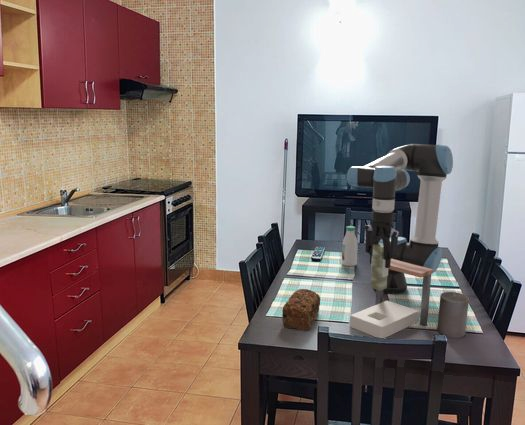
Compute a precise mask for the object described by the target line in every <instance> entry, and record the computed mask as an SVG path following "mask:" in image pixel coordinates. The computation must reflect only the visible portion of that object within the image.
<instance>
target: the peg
mask: <svg viewBox="0 0 525 425" xmlns="http://www.w3.org/2000/svg"><path fill="white" fill-rule="evenodd" d="M384 258H385V255H384V246H383V244H382V243H379V244H375V245H373V254H372V273H371V272H370V274H371V277H370V289H372V290H375V289H376V290H379V291H380V290H383V289H386V288H387V276H385V277H382V264H383V259H384ZM376 290H375V291H376Z"/></svg>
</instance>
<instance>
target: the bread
mask: <svg viewBox="0 0 525 425" xmlns="http://www.w3.org/2000/svg"><path fill="white" fill-rule="evenodd" d="M320 306H321V297H320V295H319V294H318V293H317V292H315V291H313V290H312V289H308V288H307V289H306V288H299V289H297V290H295V291H294V292H293V293H292V294H291V295H290V297H289V298H288V300H287V301H286V302H285V303H284V304H283V307H282V310H281V312H282V314H281V315H282V318H281V320H282V326H283V327H284V328H289V329H297V330H300V331H304V332H305V331H306V332H307V331H309V329H310V328H311V327H312V325H313V324H314V322H315V321H316V318H317V317H318V315H319V312H320Z"/></svg>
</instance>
